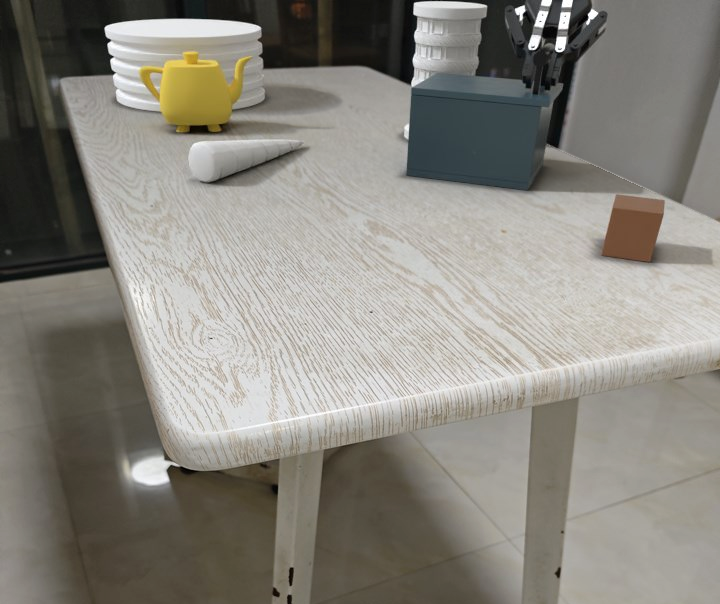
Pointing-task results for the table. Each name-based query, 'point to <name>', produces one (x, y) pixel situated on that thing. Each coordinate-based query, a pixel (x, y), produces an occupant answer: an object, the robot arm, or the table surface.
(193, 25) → the plate stack
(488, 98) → the lid
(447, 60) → the decorative container
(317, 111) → the table surface
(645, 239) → the carton
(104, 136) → the table surface
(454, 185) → the table surface
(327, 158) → the table surface
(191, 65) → the teapot
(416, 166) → the slate grey rectangular box
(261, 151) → the unicorn horn
